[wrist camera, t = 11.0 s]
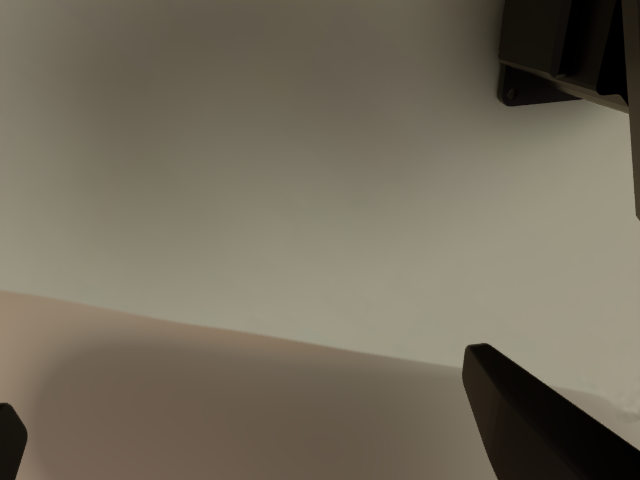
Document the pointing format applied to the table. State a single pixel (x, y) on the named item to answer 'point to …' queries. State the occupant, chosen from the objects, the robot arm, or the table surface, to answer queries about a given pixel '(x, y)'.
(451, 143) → the table surface
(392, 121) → the table surface
